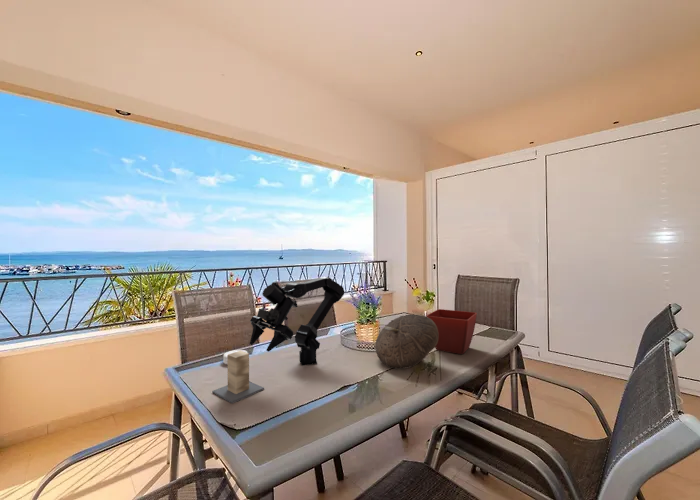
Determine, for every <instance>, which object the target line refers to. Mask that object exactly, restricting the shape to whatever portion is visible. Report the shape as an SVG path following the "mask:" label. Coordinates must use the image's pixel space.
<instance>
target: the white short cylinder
mask: <svg viewBox="0 0 700 500" xmlns="http://www.w3.org/2000/svg"><path fill="white" fill-rule="evenodd" d="M238 351H243V352H246V353H248V351H247V350H244V349H235V350H230V351H227V352H225V353H224V354H223V355H222V356H223V364H225V365H227V366H228V354H231V353H235V352H238Z"/></svg>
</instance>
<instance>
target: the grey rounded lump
mask: <svg viewBox="0 0 700 500" xmlns="http://www.w3.org/2000/svg"><path fill="white" fill-rule="evenodd" d="M438 338H439V335H438V329H437V326H436V324H435V323H434V322H433V320H431V319H430V318H428V317H427V315H426V316H425V315H420V314H405V315H400V316H397V317H395V318H394V319H391V320H390V322H388V323H387V324H385V325H384V326H383V328H382V329H381V330H380V332H379V333H378V336H377V337H376V340H375V353H376V354H377V355H376V356H377V358H378V360H380V362H381V363H383V364H384V365H385V366H387V367H389V368H392V369H407V368H411V367H414V366H416V365H417V364H419V363H420V362H422V361H423V360H424V359H425V358H426V356H427V355H428V354H429V353H431V352H432V350H434V349H436V348H435V346H436V345H437V343H438Z"/></svg>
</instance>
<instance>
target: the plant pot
mask: <svg viewBox="0 0 700 500" xmlns="http://www.w3.org/2000/svg"><path fill="white" fill-rule="evenodd" d="M477 314H478V313H477V312H471V311H463V310H453V309H445V308H443V309H442V308H441V309H440V308H439V309H436V310H434V311H432V312H431V313H429V314H427V315H426V317H428V318H430V319H431V320H433V322H434V323H435V324H436V326H437V329H438V335H439V338H438V343H437V345H436V346H435V348H434V349H435V350H436V351H441V352H446V353H447V352H448V353H452V354H458V355H463V354H465V353H466V352H467V351H468V349H469V348H470V347H471V343H472V340H473V335H474V332H475V327H476V322H477Z"/></svg>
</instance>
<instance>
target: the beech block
mask: <svg viewBox="0 0 700 500" xmlns="http://www.w3.org/2000/svg"><path fill="white" fill-rule="evenodd" d="M249 381H250V353H246V352H243V351H238V352H235V353H231V354H228V365H227V385H228V390H229V391H231V392H233V393H235V394H238V393H240V392H242V391H245V390H247V389H249Z"/></svg>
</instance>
